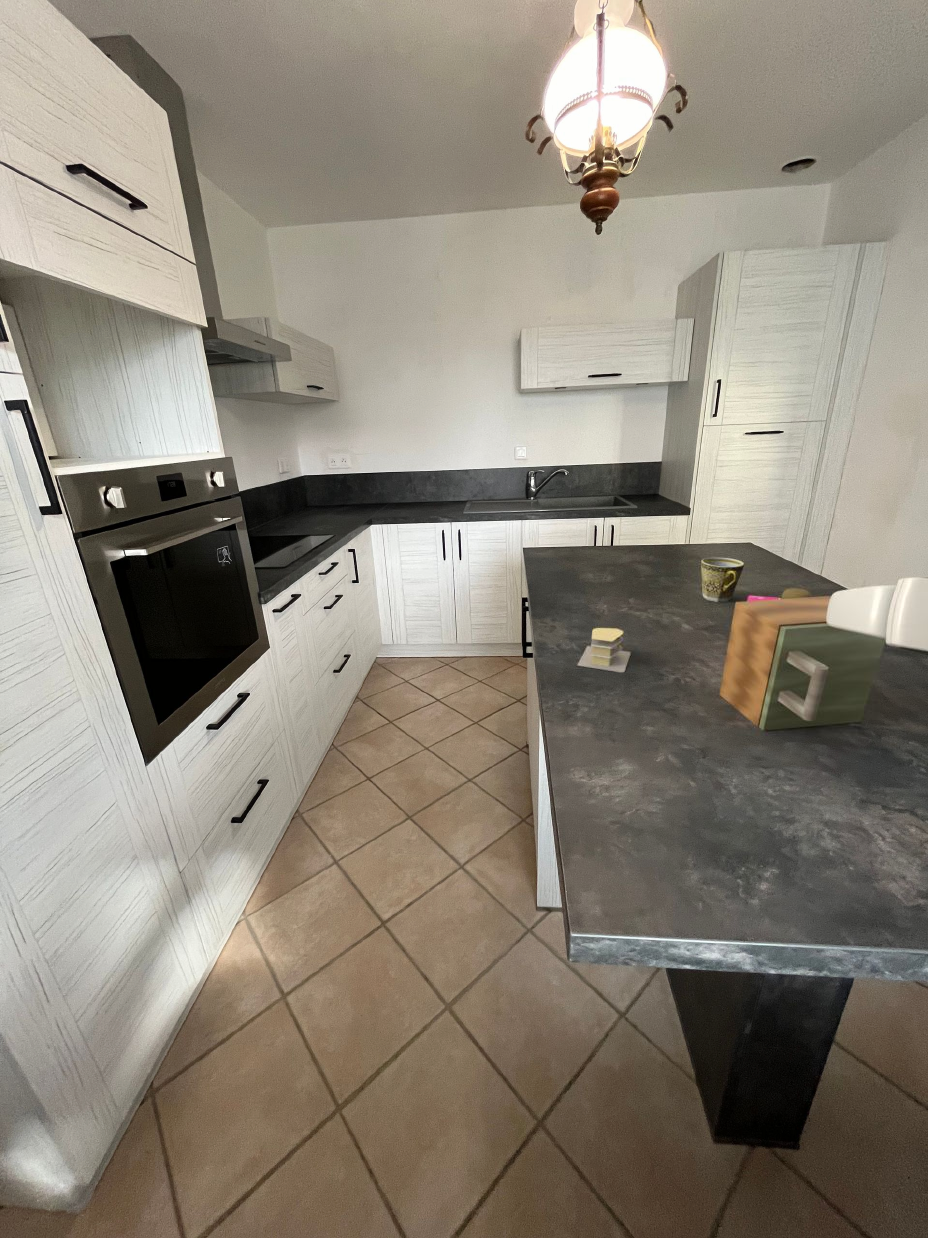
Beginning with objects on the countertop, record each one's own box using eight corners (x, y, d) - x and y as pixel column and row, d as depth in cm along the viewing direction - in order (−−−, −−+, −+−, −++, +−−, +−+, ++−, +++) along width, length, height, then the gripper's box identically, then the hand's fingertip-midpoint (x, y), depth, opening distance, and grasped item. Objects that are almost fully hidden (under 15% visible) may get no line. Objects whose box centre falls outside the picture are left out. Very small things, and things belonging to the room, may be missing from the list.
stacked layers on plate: (624, 673, 93) (626, 646, 91) (577, 665, 96) (578, 640, 94) (630, 652, 101) (633, 627, 99) (587, 646, 105) (588, 622, 103)
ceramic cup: (690, 592, 136) (695, 557, 132) (727, 592, 135) (733, 556, 131) (710, 608, 123) (716, 570, 120) (750, 607, 123) (758, 569, 119)
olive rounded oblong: (766, 638, 105) (776, 589, 101) (777, 630, 109) (787, 583, 105) (798, 646, 101) (810, 596, 97) (808, 638, 105) (820, 589, 101)
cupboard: (853, 718, 76) (883, 617, 70) (757, 727, 75) (779, 624, 69) (805, 687, 85) (828, 595, 79) (719, 694, 84) (735, 601, 78)
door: (895, 744, 69) (932, 637, 63) (790, 754, 68) (818, 645, 62) (855, 718, 76) (885, 618, 70) (758, 727, 74) (780, 626, 68)
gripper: (1156, 612, 41) (999, 611, 55) (890, 573, 44) (805, 582, 57) (1139, 685, 41) (987, 666, 55) (876, 642, 44) (794, 634, 58)
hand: (892, 623), depth 56 cm, fingers open, 8 cm apart
